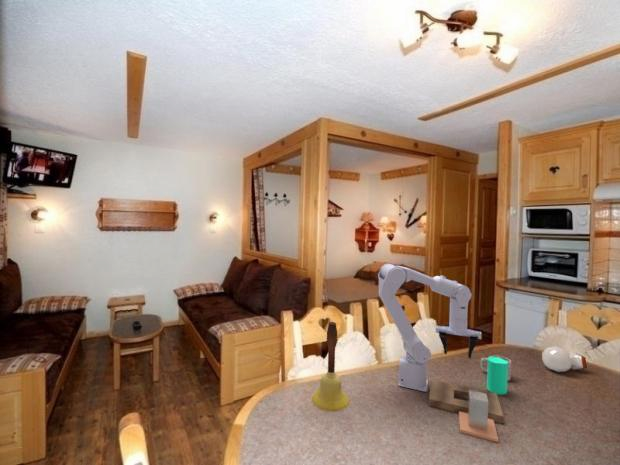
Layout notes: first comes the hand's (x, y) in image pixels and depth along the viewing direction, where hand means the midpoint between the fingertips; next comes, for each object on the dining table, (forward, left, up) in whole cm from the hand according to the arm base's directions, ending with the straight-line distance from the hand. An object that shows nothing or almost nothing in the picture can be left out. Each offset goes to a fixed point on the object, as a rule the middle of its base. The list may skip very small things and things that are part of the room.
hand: (457, 355), depth 110 cm
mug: (+14, +14, -11) cm, 22 cm away
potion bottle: (+39, +31, -11) cm, 51 cm away
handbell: (-37, -29, -11) cm, 48 cm away
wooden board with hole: (+2, -12, -10) cm, 16 cm away
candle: (+13, +2, -11) cm, 17 cm away
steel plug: (+5, -23, -10) cm, 26 cm away
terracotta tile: (+5, -24, -10) cm, 26 cm away
